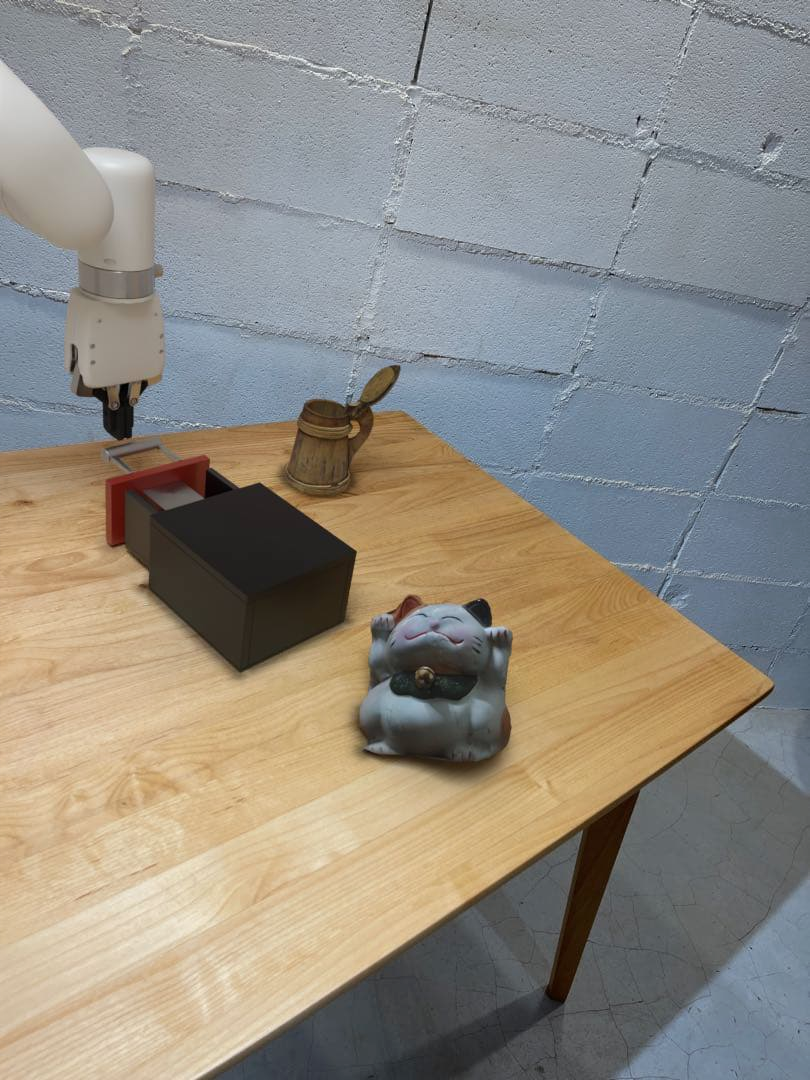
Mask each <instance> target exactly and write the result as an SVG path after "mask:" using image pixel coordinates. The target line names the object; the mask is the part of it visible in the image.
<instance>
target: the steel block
mask: <svg viewBox="0 0 810 1080" xmlns="http://www.w3.org/2000/svg"><path fill="white" fill-rule="evenodd" d="M142 498H143V499H144V500H146V501H147V502H148V503H149V504H150V505H152V506H153V507H154V508H155V509H157V510H158V511H159V512H162V511H165V510H169V509H172V508H175V507H179V506H182V505H185V504H189V503H192V502H195V501H199V500H202V499H204V498H203V497H202V496H201V495H199V494H198V493H197V492H195V491H194V490H193V489H191V488H190V487H189V486H188V485H186V484H185V483H184V482H182V481H181V480H180V481H176V482H172V483H169V484H165V485H161V486H158V487H154V488H150V489H147V490H143V491H142Z"/></svg>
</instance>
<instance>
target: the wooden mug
mask: <svg viewBox="0 0 810 1080" xmlns="http://www.w3.org/2000/svg"><path fill="white" fill-rule="evenodd" d="M401 371H402V367H401V365H400V364H392V365H388V366H386V367H385V366H384V367H383V368H380V369H379V370H378V371H377V372H376V373H374V375H373V376H372V377H371V378H370V379H368V381H367V383H366V384H365V386H364V387H363V389H362V391H361V395H360V397H359V398H358V399H357V401H356V402H347V403H346V404H345V406H344V405H343V404H341V403H339V402H338V401H335V400H332V399H326V398H312V399H309V400H307V401H305V402H304V403H303V405H302V410H301V412H300V413H299V415H298V417H297V421H296V426H297V431H296V436H295V439H294V443H293V447H292V450H291V455H290V459H289V461H288V462H287V464H286V465H285V470H284V473H283V478H284V481H285V482H286V483H287V485H288V486H290V487H291V488H292V489H295V490H297V491H299V492H301V493H305V494H308V495H313V496H315V495H316V496H331V495H335V494H340V493H342V492H344V491H346V490H347V488H348V487H349V485H350V483H351V472H350V466H351V464H352V461H353V458H354V457H355V455H356V454H357V453H358V452H359V450H360V449H361V448H362V446H363V445H364V444H365V443H366V441H367V440H368V438H369V437H370V435H371V433H372V430H373V428H374V420H375V419H374V412H373V410H372V407H373V406H375V405H377V404H378V403H379V402H381V401H382V400H383V399H384V398H385V397H387V396H388V394H389V393H390V392H391V391H392V389H393V388H394V386H395V385H396V383H397V382H398V380H399V377H400V374H401ZM352 422H357V423H358V425H359V426H358V427H359V430H358V432H357V433H356V434H355V435H354V436H352V437H349V435H350V433H351V432H352V430H353V429H354V425H353V423H352Z"/></svg>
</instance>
